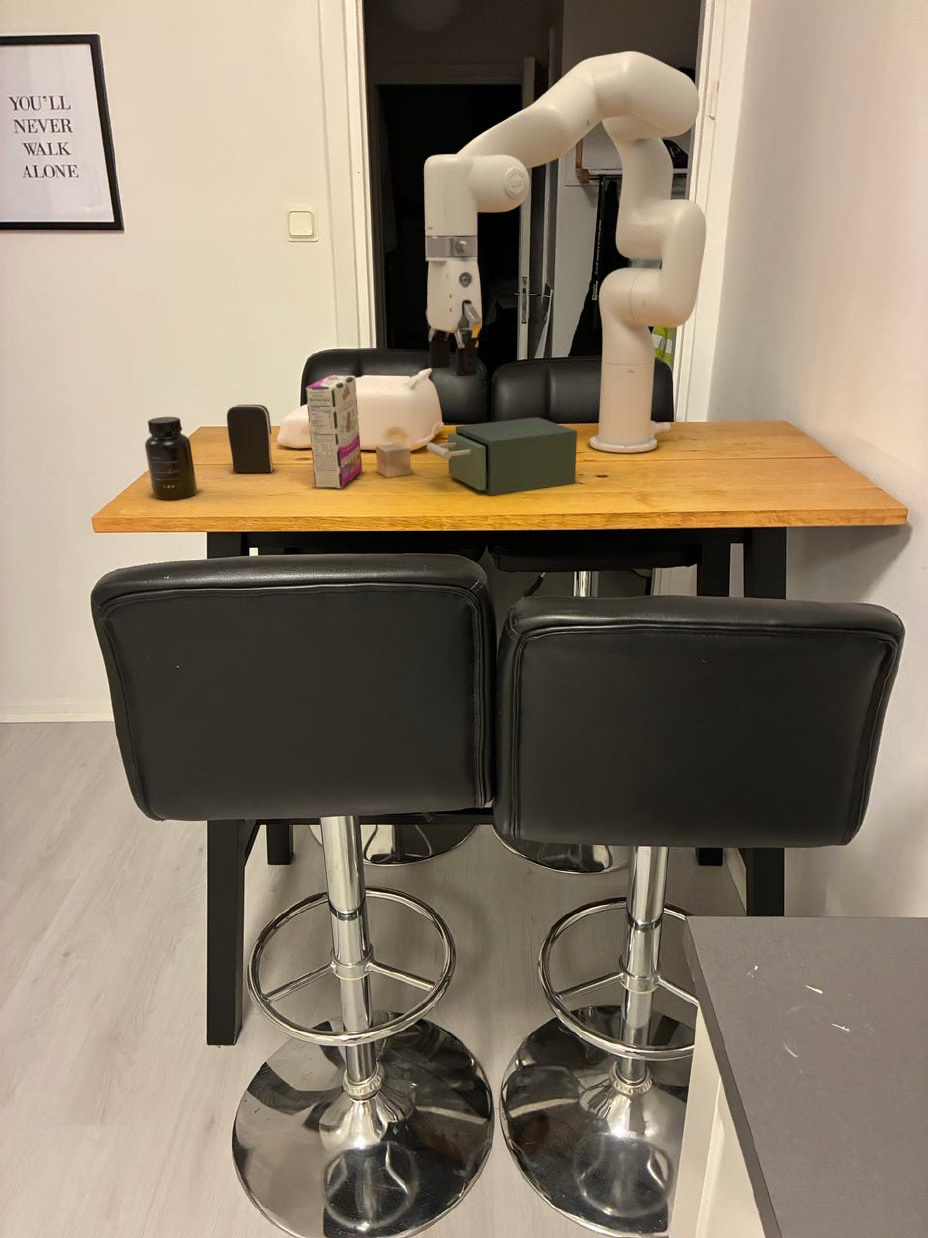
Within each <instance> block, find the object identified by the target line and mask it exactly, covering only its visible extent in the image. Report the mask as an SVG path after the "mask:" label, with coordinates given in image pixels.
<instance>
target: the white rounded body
mask: <svg viewBox="0 0 928 1238" xmlns="http://www.w3.org/2000/svg"><path fill="white" fill-rule="evenodd" d="M432 371H433V369H432V368H431V367H430V368H426V369H421V371H418V374H415V375H413V376H409V375H371V374H370V375H369V374H367V375H365V374H364V375H361V376H357V377H355V384H356V397H357V410H358V424H359V438H360V450H364V451H367V450H368V451H376V446H381V445H389V444H398V443H401V444H402V445H404V446H406V447H408V448H410V452H413V451H416V450H418V449H421V448H423V447H425V446H427V445H428V444H429V443H431V441H432V440H434V439H435V437H436V435H438V434H439V433H441V432H442V430H443V429H444V426H445V424H444V422H443V415H442V410H441V409H442V408H441V405H440V399H439V395H438V391H437V389H436V386H435V384H434V382H433V381H432V380H430V379H429V376H430V375H431V373H432ZM276 441H277V444H278V445H280V446H282V447H289V448H292V449H312V446H311V435H310V426H309V416H308V405H307V403H306V404H303V405H300V406H299V407H297V408H295V409H294V410H293V411H292V412H290V414H288V415H286V416H284V417H283V418H282V420H281V422H280V427H279V433H278V434H277V437H276Z"/></svg>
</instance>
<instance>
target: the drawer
mask: <svg viewBox="0 0 928 1238" xmlns="http://www.w3.org/2000/svg"><path fill="white" fill-rule="evenodd" d="M488 446H489V445H486V444H484V443H482V442H480V441H477V440H475V439H473V438H470V437H468V436H466V435H464V437H462V436H460V435H458V434H456V432H451V433H450V432H449V433H447V443H441V444H436V443H433V442H429V443H428V444H427V445H426V450H427V451H428V452H430V453H432V454H434V455H435V456H438V457H440V458H441V459H443V460H446V461H448V462H447V463H448V475H449V476H452V477H453V478H455V479H457V480H459V481H461V482H463V483H464V484H466V485H468V486H470V487H472V488H474V489H475V490H477V491H481V490H486V483H487V484H488Z"/></svg>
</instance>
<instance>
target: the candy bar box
mask: <svg viewBox="0 0 928 1238" xmlns="http://www.w3.org/2000/svg"><path fill="white" fill-rule="evenodd" d="M355 378H356V376H355V375H341V374H340V375H336V374H334V375H332V374H331V375H328V376H326V377H324V378H321V379H320V380H318V381H315V382H314V383H312V384H310V385H307V386H306V387H305V392H306V393H305V395H306V396H305V397H306V404H307V405H308V416H309V426H310V435H311V446H312V448H311V456H312V466H313V467H312V468H313V475H314V487H315V488H317V489H331V490H332V489H333V490H335V489H341V490H342V489H344V488H345V487H346V486H348V484H350V483H351V482H352V481H353V480H354V479H355V478H357V476H359V475H360V474H361V473H362V472H363V468H362V467H363V466H362V453H361V452H362V451H361V450H360V438H359V424H358V410H357V397H356V384H355Z"/></svg>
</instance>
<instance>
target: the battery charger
mask: <svg viewBox="0 0 928 1238" xmlns="http://www.w3.org/2000/svg"><path fill="white" fill-rule="evenodd" d="M270 417H271V416H270V412H269V410H268V408H267V407H266V406H265V405H263V404H236V405H234V406H231V407H230V408H229V409H228V410H227V412H226V424H227V433H228V440H229V447H230V452H231V459H232V471H233V473H242V474H243V473H245V474H247V473H248V474H249V473H250V474H254V473H255V474H257V473H258V474H259V473H260V474H261V473H271V472H272V471H273V469H274V467H273V466H274V465H273V459H272V458H273V457H272V447H271V445H272V443H271V435H272V423H271V418H270Z"/></svg>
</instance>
